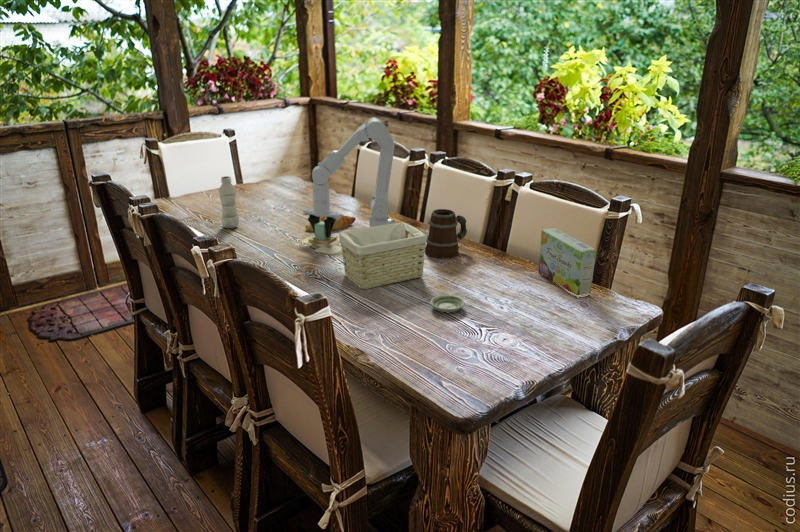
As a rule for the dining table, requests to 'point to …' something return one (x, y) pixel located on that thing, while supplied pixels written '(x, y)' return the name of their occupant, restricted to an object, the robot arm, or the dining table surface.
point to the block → (320, 231)
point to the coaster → (329, 249)
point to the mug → (444, 234)
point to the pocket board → (311, 240)
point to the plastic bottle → (228, 203)
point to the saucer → (447, 303)
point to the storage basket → (383, 254)
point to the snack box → (566, 261)
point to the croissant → (336, 222)
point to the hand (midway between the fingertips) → (322, 236)
